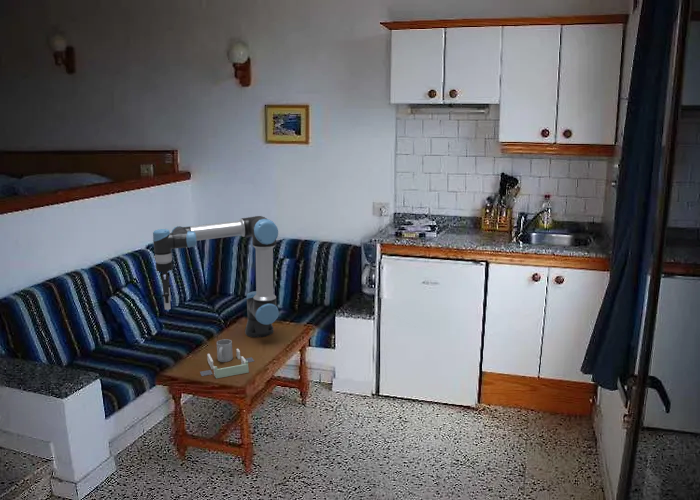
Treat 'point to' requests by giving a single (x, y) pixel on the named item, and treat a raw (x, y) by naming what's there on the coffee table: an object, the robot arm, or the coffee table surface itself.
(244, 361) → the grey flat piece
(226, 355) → the cup
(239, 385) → the coffee table surface
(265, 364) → the coffee table surface
